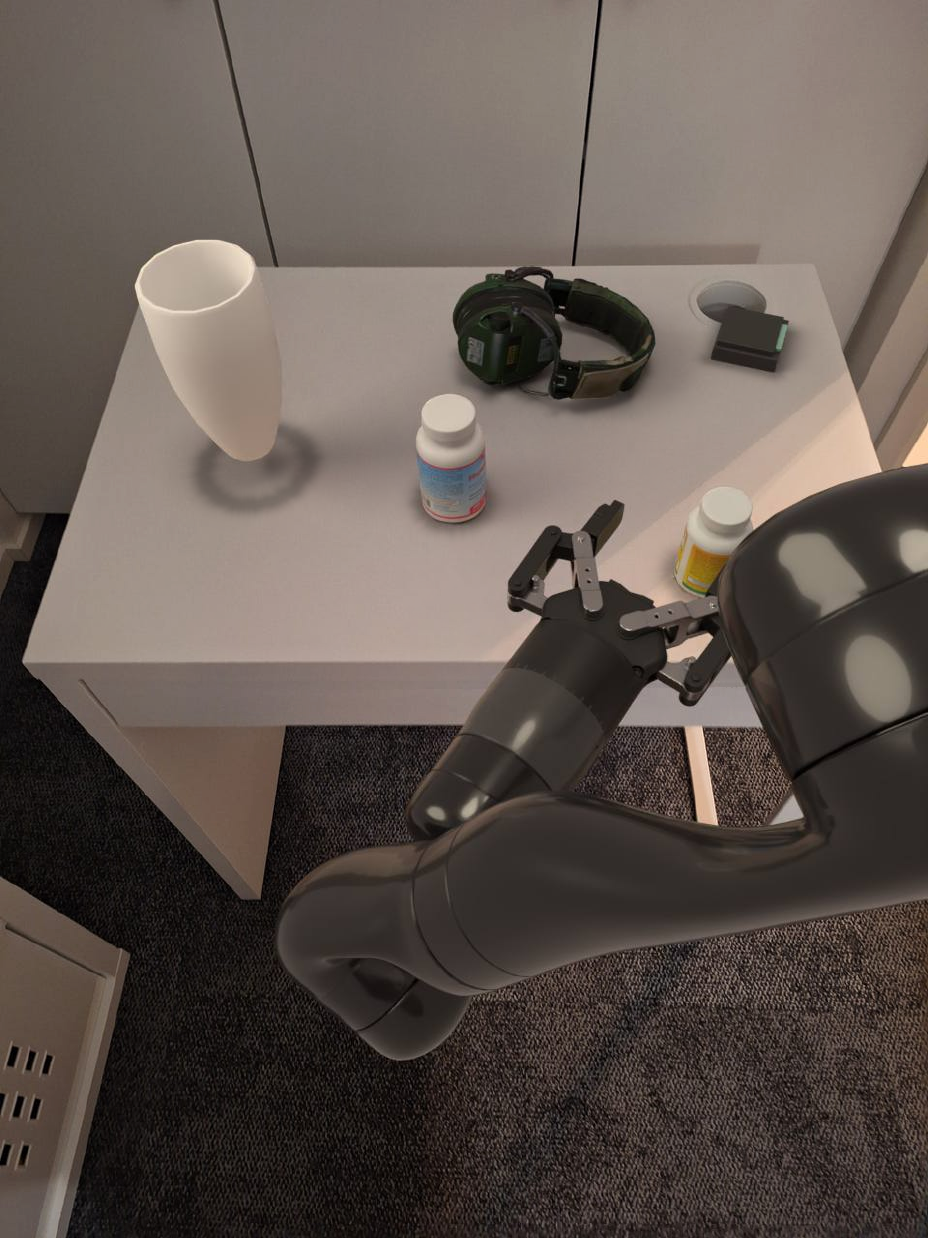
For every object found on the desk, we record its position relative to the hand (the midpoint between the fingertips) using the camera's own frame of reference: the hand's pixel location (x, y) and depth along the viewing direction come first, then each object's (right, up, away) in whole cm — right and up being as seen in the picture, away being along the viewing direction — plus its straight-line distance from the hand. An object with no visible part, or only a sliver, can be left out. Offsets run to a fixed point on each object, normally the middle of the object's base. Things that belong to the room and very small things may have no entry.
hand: (674, 536), depth 61 cm
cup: (-34, +9, +29) cm, 46 cm away
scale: (+16, +23, +36) cm, 46 cm away
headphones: (-5, +21, +35) cm, 41 cm away
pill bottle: (-15, +6, +25) cm, 30 cm away
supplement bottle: (+7, -2, +20) cm, 21 cm away
